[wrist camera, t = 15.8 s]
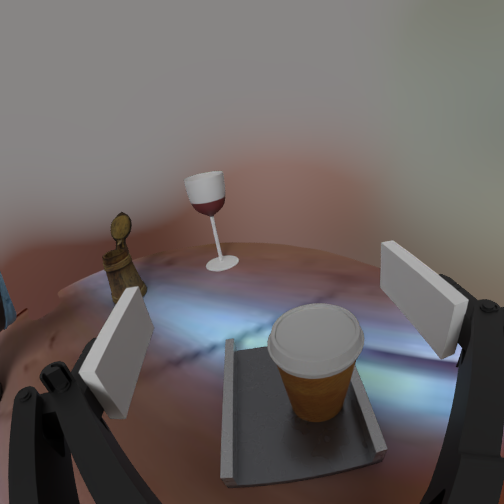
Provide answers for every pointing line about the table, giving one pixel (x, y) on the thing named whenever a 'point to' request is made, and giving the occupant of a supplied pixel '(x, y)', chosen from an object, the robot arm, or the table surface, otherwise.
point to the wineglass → (210, 209)
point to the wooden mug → (121, 261)
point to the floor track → (288, 427)
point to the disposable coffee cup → (316, 357)
